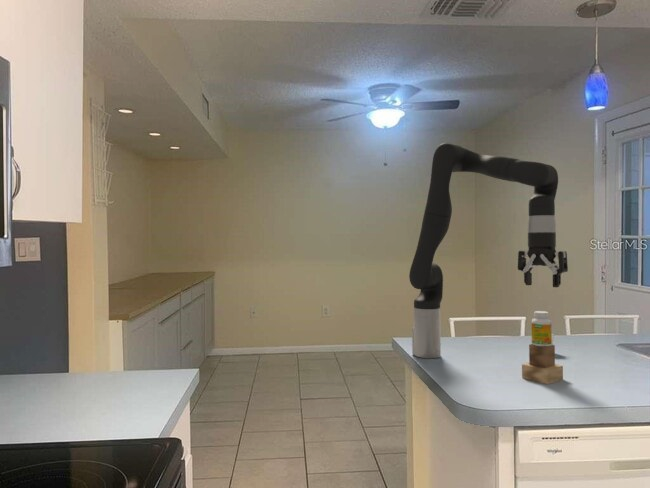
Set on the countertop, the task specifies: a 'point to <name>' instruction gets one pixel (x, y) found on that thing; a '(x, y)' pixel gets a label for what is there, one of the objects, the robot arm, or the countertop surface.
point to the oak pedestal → (542, 373)
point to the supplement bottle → (541, 329)
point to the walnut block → (542, 356)
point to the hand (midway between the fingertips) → (541, 286)
